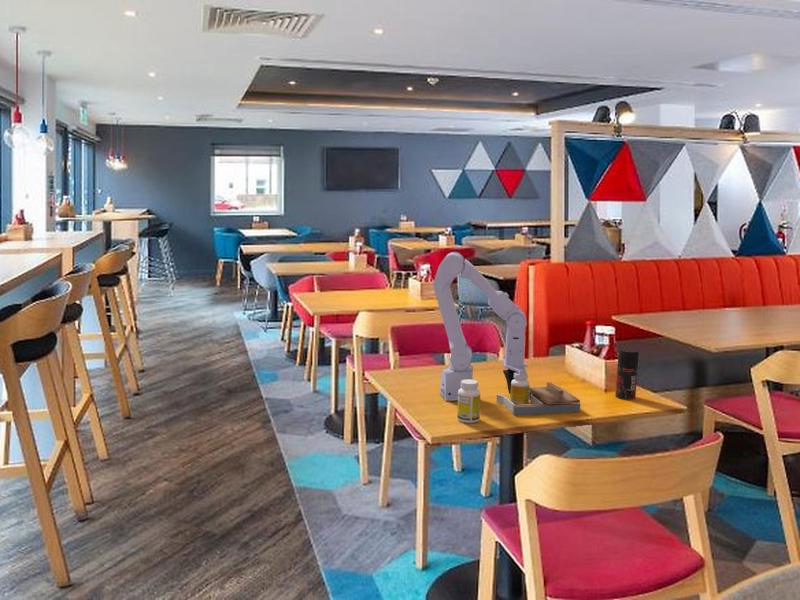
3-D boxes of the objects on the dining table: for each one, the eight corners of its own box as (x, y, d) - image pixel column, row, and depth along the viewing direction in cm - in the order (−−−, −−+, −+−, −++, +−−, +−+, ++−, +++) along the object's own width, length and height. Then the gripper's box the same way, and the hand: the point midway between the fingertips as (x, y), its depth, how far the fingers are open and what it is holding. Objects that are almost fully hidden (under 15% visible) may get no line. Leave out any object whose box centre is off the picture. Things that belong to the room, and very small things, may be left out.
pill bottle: (476, 416, 202) (478, 378, 200) (481, 423, 196) (483, 384, 194) (455, 416, 201) (456, 378, 200) (459, 423, 195) (460, 384, 194)
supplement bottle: (526, 408, 209) (528, 376, 208) (508, 406, 211) (510, 374, 209) (529, 403, 214) (531, 372, 213) (511, 401, 216) (513, 370, 214)
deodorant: (621, 393, 227) (624, 346, 224) (638, 397, 223) (642, 350, 220) (611, 396, 223) (615, 349, 220) (629, 401, 219) (633, 353, 216)
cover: (547, 404, 204) (547, 393, 204) (528, 390, 218) (528, 379, 218) (579, 402, 207) (580, 392, 206) (558, 388, 220) (559, 378, 220)
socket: (511, 416, 203) (512, 407, 202) (494, 400, 216) (495, 392, 216) (579, 412, 207) (580, 404, 207) (559, 397, 221) (559, 389, 220)
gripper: (536, 355, 209) (534, 400, 211) (518, 344, 223) (516, 386, 225) (513, 356, 208) (511, 401, 210) (497, 344, 222) (495, 387, 224)
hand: (512, 393), depth 217 cm, fingers closed
